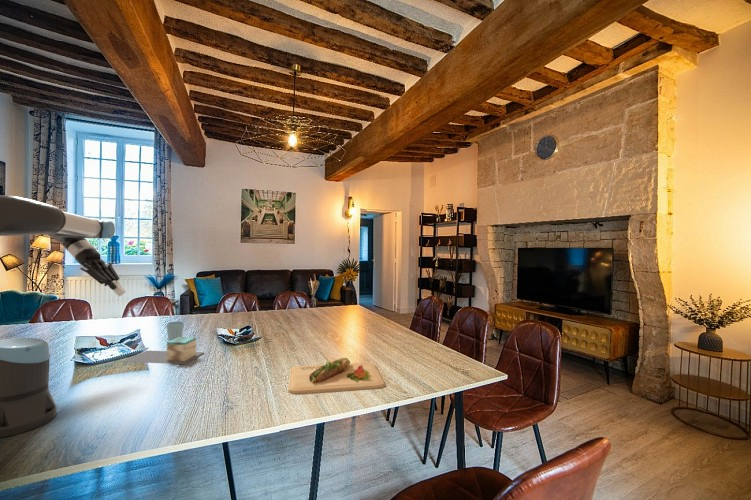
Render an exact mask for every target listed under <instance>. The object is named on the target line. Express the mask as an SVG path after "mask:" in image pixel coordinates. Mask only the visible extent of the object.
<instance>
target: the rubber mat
mask: <svg viewBox="0 0 751 500" xmlns="http://www.w3.org/2000/svg"><path fill="white" fill-rule="evenodd" d="M204 354H205V352H203V351H196V355H194V356H193V357H191V358H189V359H187V360H185V361H174V360H167V350H165V351H164V350H144V351H142V352H140V353H137V354H135V355H133V356H130V357H128V358H125V359H123V360H121V361H120V362H122V363H141V364H142V363H143V364H144V363H148V364H149V363H150V364H170V365H171V364H176V365H178V366H185V365H187V364H188V363H191V362H192V361H194V360H195V359H197V358H198V357H200V356H202V355H204Z"/></svg>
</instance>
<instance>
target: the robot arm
mask: <svg viewBox="0 0 751 500" xmlns="http://www.w3.org/2000/svg"><path fill="white" fill-rule="evenodd" d="M115 233H116V226H115V224H114V222H113V221H112V220H104V219H95V218H90V217H86V216H82V215H79V214H76V213H75V214H74V213H71V212H67V211H63V210H62V209H61V208H59V207H58V206H54V205H52V204H48V203H46V202H41V201H39V200H38V201H37V200H33V199H29V198H25V197H21V196H15V195H9V194H8V195H7V194H5V195H4V194H3V195H2V194H0V237H8V236H10V237H11V236H13V237H16V236H17V237H18V236H33V235H45V236H49V237H51V238H52V239H54V240H55V241H56V242H58V243H60V245H61V246H63V247H64V249H65V250H66V251H67V252H68V253H69V254H70V255H71V256H72V257H73V258H74V259H75V261H76V262H77V263H78V264H79V265H81V267H80V269H79V270H81V271H83V272H85V273H86V274H87V275H88V276H90V277H91V278H92V279H94V280H95V281H97V282H98V283H99V284H101V285H103V286H105V287H107V286H108V287H109V288H110V290H112V291H113V292H114V294H116V295H117V296H118V297H122V296H123V295H124V294H125V293H127V291H126V290H125V289H124V287H123V286H122V285H121V284H120V283H119V280H120V276H119V275H118V273H117V272H116V270H115V269H114V267H113V264H112V263H111V262H108V263H106V261H104V260H103V259H101V254H100V252H99V251H98V250H96V248H95V247H94V246H93V245H92V244H91V243H90V242H89V241H88V240H87V239H103V240H104V239H112V238H113V237H114V236H115ZM50 358H51V353H50V345H49V343H48V342H47V341H45V340H43V339H42V338H37V337H14V338H2V339H0V438H5V437H9V436H14V435H18V434H21V433H25V432H27V431H31V430H33V429H36V428H38V427H40V426H43V425H45V424H47V423H48V422H50V421H52V420H53V419H55V417H56V416H57V404H56V402H55V400H54V398H53V396H52V394H51V392H50V389H49V388H50V387H49V384H50V383H49V380H50V379H49V377H50Z"/></svg>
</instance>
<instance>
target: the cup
mask: <svg viewBox="0 0 751 500" xmlns="http://www.w3.org/2000/svg"><path fill="white" fill-rule="evenodd" d="M184 325H185V321H180V320H179V321H178V320H177V321H171V322H167V323H166V330H167V339H168V340H167V342H169V341H171V340H173V339H176V338H178V337H183V332H184Z"/></svg>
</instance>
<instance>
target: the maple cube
mask: <svg viewBox="0 0 751 500" xmlns="http://www.w3.org/2000/svg"><path fill="white" fill-rule="evenodd" d="M196 349H197V337H196V336H195V337H190V336H187V337H186V336H185V337H183V336H182V337H178V338H176V339H173V340H171V341H167V342H166V351H167V360H174V361H185V360H187V359H189V358H191V357H193V356H194V355H196V352H197V350H196Z"/></svg>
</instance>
